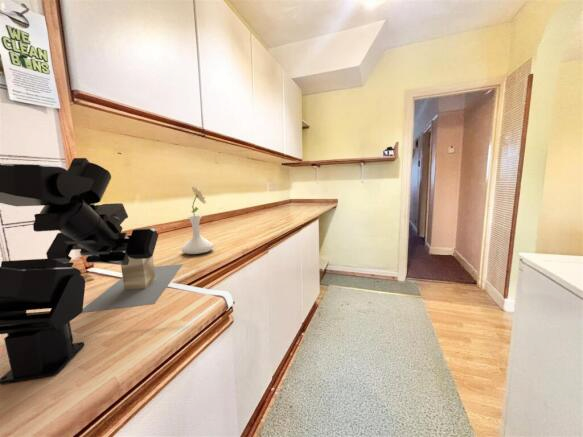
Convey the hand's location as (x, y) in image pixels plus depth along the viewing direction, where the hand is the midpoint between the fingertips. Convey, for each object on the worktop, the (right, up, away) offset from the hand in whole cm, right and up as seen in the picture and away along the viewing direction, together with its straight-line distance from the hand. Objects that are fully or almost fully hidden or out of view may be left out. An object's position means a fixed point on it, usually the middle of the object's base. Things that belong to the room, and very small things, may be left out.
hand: (126, 263), depth 55 cm
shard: (-19, -8, +8) cm, 22 cm away
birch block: (0, -6, +5) cm, 8 cm away
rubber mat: (0, -7, +6) cm, 9 cm away
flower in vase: (+2, -3, +36) cm, 37 cm away
